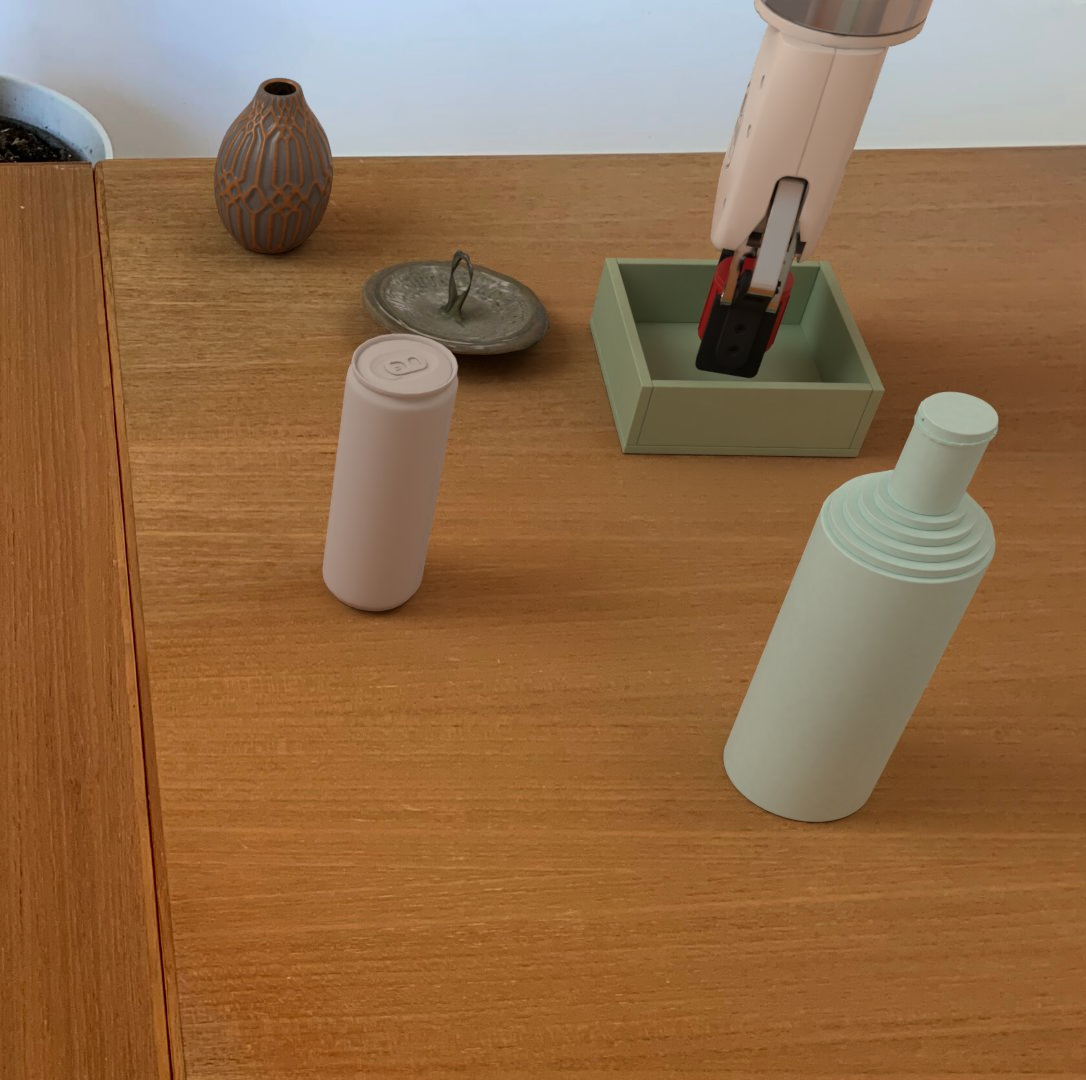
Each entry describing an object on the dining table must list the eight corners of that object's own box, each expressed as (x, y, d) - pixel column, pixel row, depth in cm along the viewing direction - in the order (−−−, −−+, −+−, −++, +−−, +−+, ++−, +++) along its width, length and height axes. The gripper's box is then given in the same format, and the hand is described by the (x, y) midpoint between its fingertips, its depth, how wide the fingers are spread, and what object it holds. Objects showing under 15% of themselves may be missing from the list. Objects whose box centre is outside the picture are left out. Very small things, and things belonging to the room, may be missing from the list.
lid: (340, 383, 95) (349, 316, 90) (375, 252, 98) (386, 182, 94) (527, 418, 93) (546, 353, 89) (556, 285, 97) (576, 215, 92)
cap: (702, 310, 91) (721, 248, 88) (777, 325, 90) (798, 262, 87) (691, 349, 89) (711, 286, 86) (768, 364, 88) (790, 301, 85)
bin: (805, 327, 96) (829, 260, 92) (857, 457, 88) (885, 390, 85) (589, 323, 96) (605, 257, 93) (622, 453, 88) (641, 386, 85)
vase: (268, 280, 98) (280, 129, 92) (187, 234, 102) (193, 84, 95) (350, 239, 101) (367, 89, 94) (269, 195, 104) (280, 47, 97)
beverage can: (303, 567, 83) (328, 346, 73) (390, 542, 84) (425, 321, 74) (350, 627, 80) (382, 406, 70) (438, 601, 81) (482, 379, 72)
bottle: (851, 719, 76) (1022, 361, 62) (889, 823, 72) (1081, 468, 58) (709, 717, 76) (848, 360, 62) (739, 822, 72) (894, 466, 58)
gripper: (773, -104, 81) (670, 257, 96) (751, 48, 71) (640, 424, 86) (936, -85, 80) (806, 278, 94) (936, 72, 70) (792, 450, 85)
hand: (728, 344), depth 90 cm, fingers closed on cap, 3 cm apart
